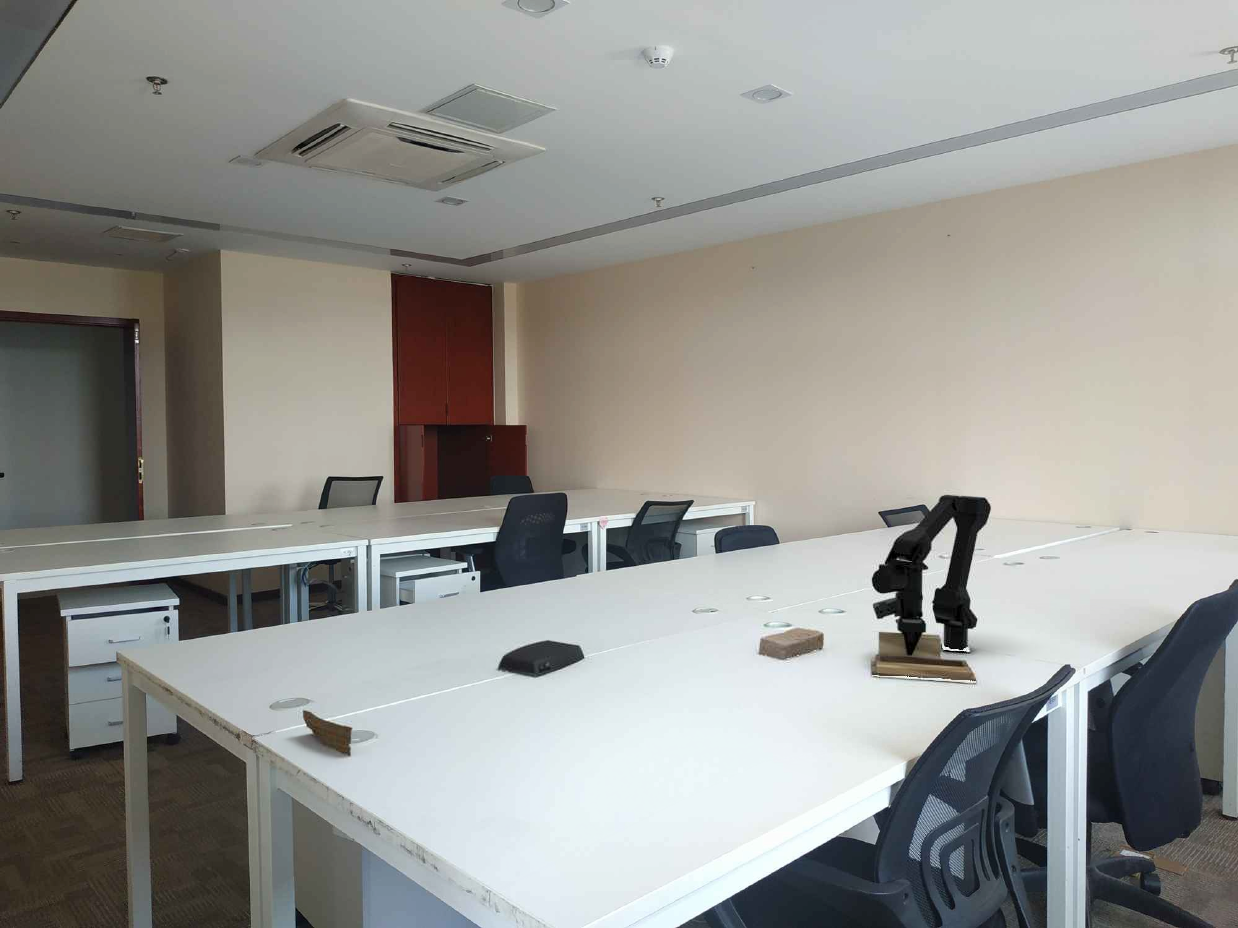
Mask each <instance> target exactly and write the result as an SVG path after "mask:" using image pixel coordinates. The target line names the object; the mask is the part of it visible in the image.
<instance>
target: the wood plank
mask: <svg viewBox="0 0 1238 928" xmlns="http://www.w3.org/2000/svg"><path fill="white" fill-rule="evenodd" d="M302 719H304V723H305V726H306V728H308V729H310V730H311V732H312V734H313V736H314V738H315V739H317V741H318V742H321V744H323V745H324V746H325V747H327V748H330V749H334V750H336V751H337V752H339V753H342V754H343V755H346V756H349V757H351V754H352V753H351V750H352V748H351V746H350V745H351V743H352V731H353V727H351V726H349V725H341V724H338V723H335V722H332V721H328V720H325V719H323V718H320V717H319V716H317V715H315V714H314V713H313V712H311V711H309V710H304V709H303V710H302Z"/></svg>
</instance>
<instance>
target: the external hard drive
mask: <svg viewBox="0 0 1238 928" xmlns="http://www.w3.org/2000/svg"><path fill="white" fill-rule="evenodd" d="M584 659H585V655H584V652H583V650H582V648H581V646H580V645H579V644H573V643H567V642H561V641H555V640H549V639H548V640H547V639H546V640H541V641H537V642H533V643H528V644H526V645H523V646H520V647H517V648H515V649H513V650H511V651H509V652H507V653H505V654H504V655H502V657H501V659H500V661H499V663H498V666H497V669H496V670H497V671H500V670H502V671H501V672H505V671H508V672H507V673H510V672H511V673H512V674H515V673H516V674H517V675H519V676H520V675H521V676H527V677H531V678H539V677H543V676H545V675H547V674H549V675H550V674H551V673H554V672H557V671H559V670H562V669H564V668H567V667H569V666H572V665H573V664H576V663H578V662H580V661H582V660H584ZM516 674H515V675H516Z"/></svg>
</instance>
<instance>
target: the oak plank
mask: <svg viewBox="0 0 1238 928" xmlns="http://www.w3.org/2000/svg"><path fill="white" fill-rule="evenodd" d="M941 639H942V638H941V636H940V635H939V634H931V633H930V634H928V633H922V635H921V637H920V639H919V641H918V643H917V646H916V648H915V650H914V652H913V654H912V655H907V651H906V646H905V640H904V635H903V634H902V633H901V632H892V631H891V632H890V631H878V655H886V656H902V657H918V658H933V659H941V649H942V647H941V643H942V642H941V641H942V640H941Z"/></svg>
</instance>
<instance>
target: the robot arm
mask: <svg viewBox="0 0 1238 928" xmlns="http://www.w3.org/2000/svg"><path fill="white" fill-rule="evenodd" d="M991 510H992V507H991V503H990V502H989V500H988V499H987V498H986V497H983V496H973V495H972V496H971V495H970V496H969V495H956V494H954V495H953V494H944V495H941V496H940V497H939V499H938V502H937V503H936V504H935V505H934V506H933V508H932V509H931V510H930V511H929V512H928V513H927V515H925V516H924V518H923V519H922V520H921V521H920V522H919V523H918V524H917V525H916V526H915V527H914V528H912V529H910V530H909V529H908V530H907V531H904V532H903V533H902V534H901V535H899V536H898V537H897V538H895V540H894V541H893V544H892V546H891V549H890V550H889V552H888V555H887V556H886V559H885V560H884V563H880V564H878V569H877V570H875V572H874V573H873V575H872V577H871V584H872V587H873V589H874V590H875V591H876V592H877V593H878V594H882V595H884V594H891V593H895V595H894V596H895V597H892V598H887V599H884V600H880V601H877V602H874V603H872V608H873V611H874V613H875V616H876V619H877V620H881V619H884V618H885V617H889V616H892V615H894V618H896V619H895V623H896V629H897V631H898V632H899V633H902V634H903V635H904V640H905V646H906V651H907V655H912V654H913V652H914V650H915V648H916V646H917V643H918V641H919V639H920V637H921V635H922V634H926V632H927V623H926V621H925V620H924V619H923V616H924V615H923V613H924V612H923V600H924V594H923V571H928V570H929V566H928V565H927V564H925V562H924V561H925V560H927V557H928V556H929V554H930V552H931V551H932V542H933V541H934V539H935V538H936V537H937V536H938V535H939V533H940V532H942V530H943V529H944V528H945V527H946V526H947V524H949V522H950V521H951V520H952V519H953V521H954V524H955V526H956V531H955V532H956V533H955V536H954V542H953V547H952V551H951V556H950V560H949V565H948V568H947V569H948V570H947V574H946V578H945V579H946V580H945V583H944V584H943V585H942V586H941V587H936V589H935V590H934V596H933V599H932V601H931V604H932V612H933V615H934V620H935V623H936V624H942V625H943V643H944V646H945V647H949V648H950V649H959V650H963V649H964V648H966V647H969V644H968V642H969V639H968V638H969V630H973V629H974V628H976V627H977V624H978V617H977V616H976V614H974V612H973V611H972V610H971V598H970V595H969V592H968V590H967V586H968V582H969V578H970V577H969V576H970V571H971V566H972V562H973V557H974V552H975V547H976V543H977V540H978V539H977V538H978V533H979V532H980V531H981V530H982V529H983V528H984V527H986V525H987V523H988V521H989V516H990V514H991ZM897 617H898V619H897Z"/></svg>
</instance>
